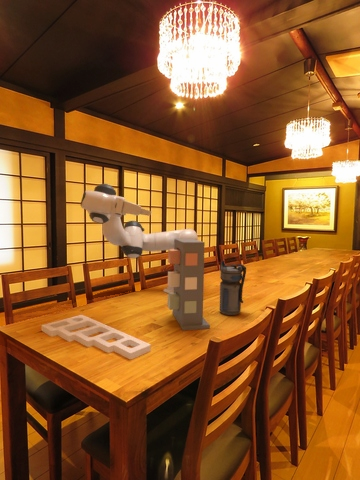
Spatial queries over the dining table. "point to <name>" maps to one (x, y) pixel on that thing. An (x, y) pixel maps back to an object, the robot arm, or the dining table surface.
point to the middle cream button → (174, 279)
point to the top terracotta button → (174, 256)
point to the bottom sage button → (173, 301)
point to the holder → (100, 341)
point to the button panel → (190, 284)
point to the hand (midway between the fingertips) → (150, 213)
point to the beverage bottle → (231, 288)
